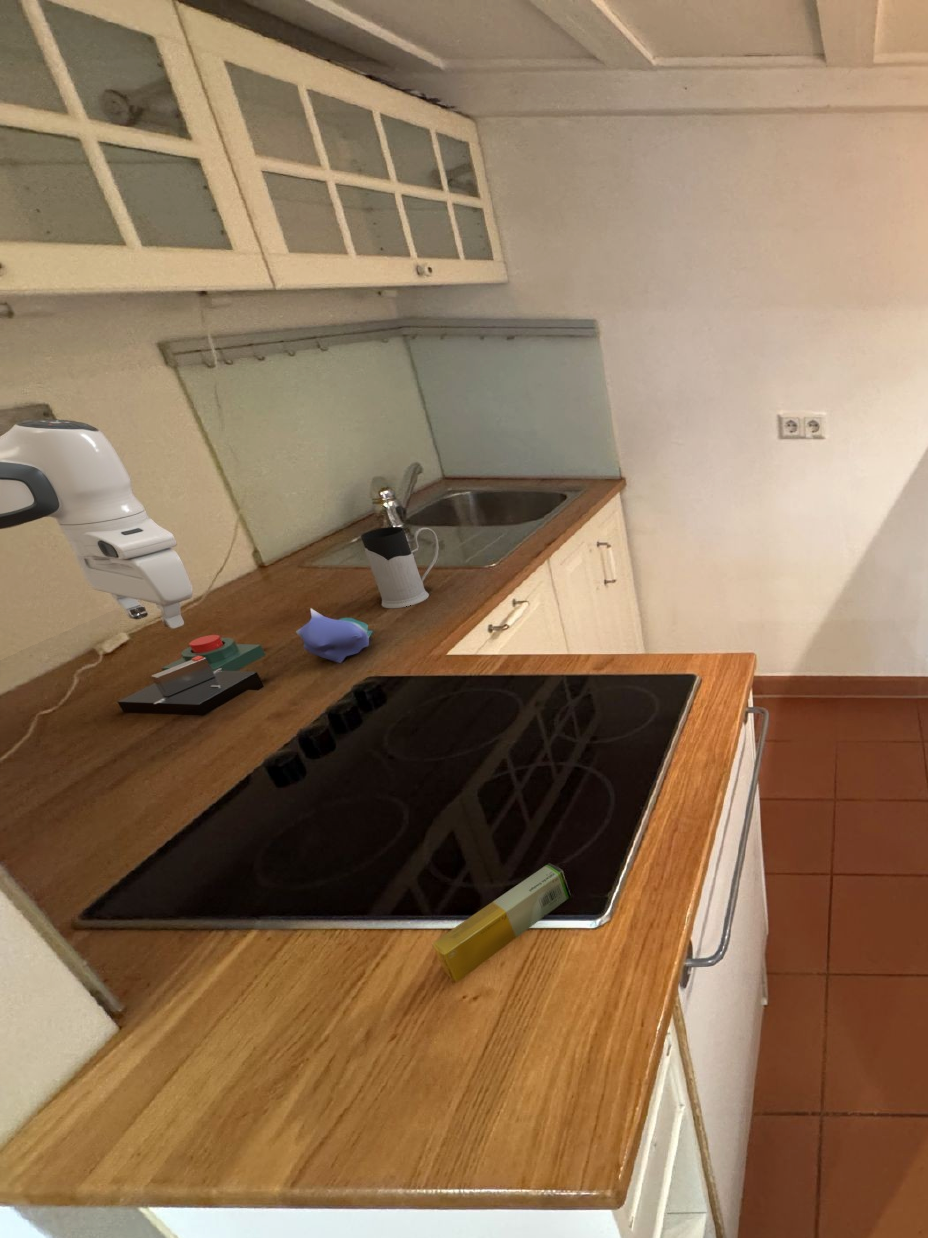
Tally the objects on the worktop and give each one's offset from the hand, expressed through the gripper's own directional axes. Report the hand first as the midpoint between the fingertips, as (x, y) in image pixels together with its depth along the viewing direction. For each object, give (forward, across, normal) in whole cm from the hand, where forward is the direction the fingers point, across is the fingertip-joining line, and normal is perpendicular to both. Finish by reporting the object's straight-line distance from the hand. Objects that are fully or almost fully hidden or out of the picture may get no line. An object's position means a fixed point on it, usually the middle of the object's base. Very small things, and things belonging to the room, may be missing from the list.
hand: (157, 621), depth 103 cm
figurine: (+14, +8, +19) cm, 25 cm away
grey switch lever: (+11, +1, -1) cm, 11 cm away
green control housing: (+14, -9, +8) cm, 19 cm away
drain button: (+10, -9, +8) cm, 16 cm away
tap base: (+14, +1, 0) cm, 14 cm away
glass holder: (+14, -3, +43) cm, 45 cm away
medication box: (+13, +85, -17) cm, 87 cm away
